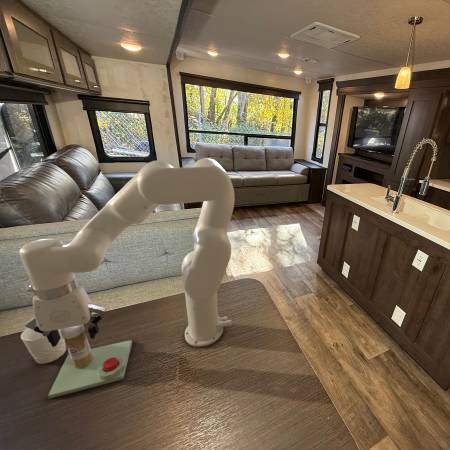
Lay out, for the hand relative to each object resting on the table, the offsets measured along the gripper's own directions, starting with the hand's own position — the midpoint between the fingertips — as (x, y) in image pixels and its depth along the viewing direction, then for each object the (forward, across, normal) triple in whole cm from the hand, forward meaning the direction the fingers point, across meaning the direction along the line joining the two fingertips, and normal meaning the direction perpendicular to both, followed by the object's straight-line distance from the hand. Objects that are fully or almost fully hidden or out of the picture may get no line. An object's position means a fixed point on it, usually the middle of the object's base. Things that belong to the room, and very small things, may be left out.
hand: (76, 338), depth 68 cm
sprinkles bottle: (+9, 0, 0) cm, 9 cm away
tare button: (+8, +8, -5) cm, 12 cm away
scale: (+10, +3, -2) cm, 11 cm away
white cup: (+11, -10, +7) cm, 16 cm away
